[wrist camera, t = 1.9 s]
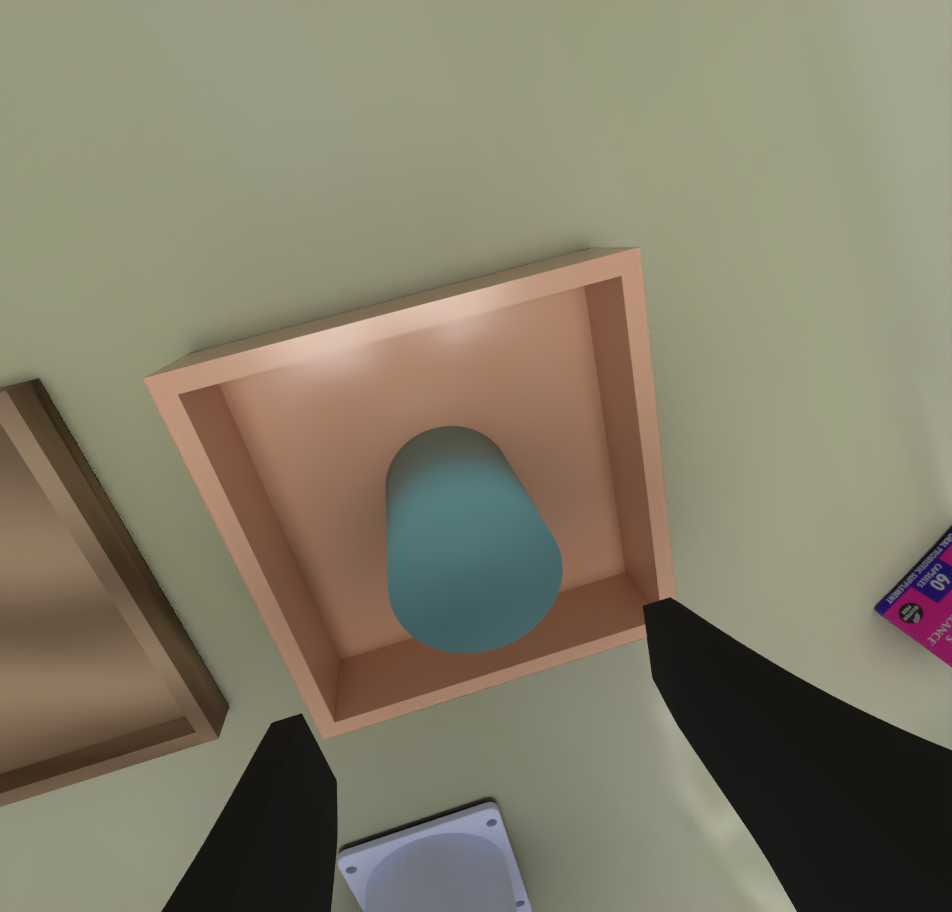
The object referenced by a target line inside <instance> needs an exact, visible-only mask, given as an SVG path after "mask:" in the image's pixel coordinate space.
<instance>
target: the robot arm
mask: <svg viewBox="0 0 952 912" xmlns="http://www.w3.org/2000/svg"><path fill="white" fill-rule="evenodd" d="M643 612H644V620H645V627H646V634H647V642H648V649H649V656H650V664H651V671H652V678H653V680H654V682H655V684H656V686H657V687H658V689H659V691H660V693H661V695H662V697H663V699H664V701H665V703H666V705H667V707H668V708H669V710H670V712H671V714H672V716H673V718H674V719H675V721H676V723H677V725H678V726H679V728H680V730H681V731H682V733H683V734H684V736H685V737H686V739H687V740H688V742H689V743H690V745H691V746H692V748H693V749H694V751H695V752H696V753H697V755H698V756H699V758H700V759H701V761H702V762H703V764H704V765H705V767H706V768H707V770H708V771H709V773H710V774H711V776H712V777H713V779H714V780H715V782H716V783H717V785H718V786H719V787H720V789H721V790H722V792H723V793H724V795H725V796H726V798H727V799H728V801H729V802H730V804H731V805H732V807H733V808H734V810H735V811H736V813H737V814H738V815H739V817H740V818H741V820H742V821H743V823H744V824H745V826H746V827H747V829H748V830H749V832H750V833H751V835H752V836H753V838H754V839H755V841H756V843H757V844H758V846H759V847H760V849H761V850H762V852H763V854H764V855H765V857H766V858H767V860H768V862H769V863H770V865H771V867H772V869H773V870H774V872H775V874H776V876H777V877H778V879H779V881H780V883H781V884H782V886H783V888H784V890H785V891H786V893H787V895H788V897H789V898H790V900H791V902H792V904H793V905H794V907H795V909H796V911H797V912H952V750H950V749H947V748H945V747H942V746H940V745H937V744H935V743H933V742H930V741H928V740H925V739H923V738H921V737H918V736H916V735H914V734H911V733H909V732H907V731H905V730H902V729H900V728H898V727H896V726H893V725H891V724H889V723H887V722H885V721H883V720H881V719H879V718H877V717H874V716H872V715H870V714H868V713H866V712H864V711H862V710H860V709H858V708H855V707H853V706H851V705H849V704H848V703H846V702H844V701H842V700H840V699H838V698H836V697H834V696H832V695H830V694H828V693H826V692H824V691H823V690H821V689H819V688H817V687H815V686H813V685H812V684H810V683H808V682H806V681H804V680H802V679H801V678H799V677H797V676H795V675H794V674H792V673H790V672H788V671H787V670H785V669H783V668H781V667H780V666H778V665H776V664H775V663H773V662H771V661H770V660H768V659H766V658H765V657H763V656H761V655H760V654H758V653H756V652H755V651H753V650H751V649H750V648H748V647H746V646H745V645H743V644H742V643H740V642H738V641H737V640H735V639H734V638H732V637H731V636H729V635H727V634H726V633H724V632H723V631H721V630H720V629H718V628H717V627H715V626H714V625H712V624H711V623H709V622H708V621H706V620H705V619H703V618H702V617H700V616H699V615H697V614H696V613H694V612H693V611H691V610H690V609H688V608H687V607H685V606H684V605H682V604H681V603H679V602H678V601H676V600H674V599H673V598H671V597H669V598H666V599H663V600H660V601H656V602H653V603H650V604H647V605H644V606H643ZM336 849H337V780H336V778H335V776H334V775H333V773H332V771H331V769H330V767H329V765H328V763H327V761H326V759H325V757H324V755H323V753H322V751H321V749H320V748H319V746H318V744H317V742H316V740H315V738H314V736H313V734H312V732H311V730H310V728H309V726H308V724H307V722H306V720H305V719H304V717H303V715H302V714H298V715H295V716H292V717H289V718H286V719H283V720H279V721H276V722H273V723H271V725H270V727H269V728H268V730H267V732H266V734H265V735H264V737H263V739H262V741H261V742H260V744H259V746H258V748H257V750H256V752H255V753H254V755H253V757H252V759H251V761H250V762H249V764H248V766H247V768H246V770H245V771H244V773H243V775H242V777H241V779H240V781H239V782H238V784H237V786H236V788H235V789H234V791H233V793H232V795H231V797H230V798H229V800H228V802H227V804H226V805H225V807H224V809H223V811H222V812H221V814H220V816H219V818H218V819H217V821H216V823H215V825H214V826H213V828H212V830H211V831H210V833H209V835H208V837H207V838H206V840H205V842H204V844H203V845H202V847H201V849H200V850H199V852H198V854H197V855H196V857H195V859H194V860H193V862H192V863H191V865H190V867H189V868H188V870H187V871H186V873H185V875H184V876H183V878H182V879H181V881H180V883H179V884H178V886H177V887H176V889H175V891H174V892H173V894H172V896H171V897H170V899H169V900H168V902H167V904H166V905H165V907H164V908H163V910H162V911H161V912H331V903H332V893H333V883H334V872H335V861H336ZM337 865H338V868H339V869H340V871H341V873H342V875H343V876H344V878H345V880H346V882H347V884H348V885H349V887H350V889H351V891H352V893H353V894H354V896H355V898H356V900H357V901H358V903H359V905H360V907H361V909H362V910H363V912H532V908H531V904H530V901H529V898H528V895H527V892H526V889H525V886H524V883H523V880H522V877H521V874H520V871H519V868H518V865H517V862H516V859H515V856H514V853H513V850H512V847H511V844H510V841H509V838H508V835H507V832H506V829H505V826H504V823H503V820H502V817H501V814H500V811H499V808H498V806H497V804H495V803H493V802H486V803H483V804H480V805H477V806H474V807H471V808H468V809H465V810H462V811H459V812H456V813H453V814H450V815H447V816H444V817H441V818H438V819H435V820H432V821H429V822H426V823H423V824H420V825H417V826H414V827H411V828H408V829H405V830H402V831H399V832H396V833H393V834H390V835H387V836H384V837H381V838H378V839H375V840H372V841H369V842H366V843H363V844H360V845H357V846H354V847H351V848H348V849H345V850H343V851H342V852H341V853H339V855H338V860H337Z"/></svg>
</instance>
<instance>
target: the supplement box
mask: <svg viewBox="0 0 952 912" xmlns="http://www.w3.org/2000/svg"><path fill="white" fill-rule="evenodd" d="M876 611H877V612H878V613H879V614H880V615H881V616H883V617H884V618H886V619H887V620H888V621H890V622H891V623H892V624H894V625H895V626H896V627H898V628H899V629H900V630H902V631H903V632H905V633H906V634H907V635H909V636H910V637H911V638H913V639H914V640H916V641H917V642H918V643H920V644H921V645H922V646H924V647H925V648H926V649H928V650H929V651H930V652H932V653H933V654H935V655H936V656H937V657H939V658H940V659H941V660H943V661H944V662H945V663H947V664H948V665H949V666H951V667H952V530H951V531H950V532H949V534H948V535H947V536H946V537H945V539H944V540H943V541H942V542H941V543H940V544H939V545H938V546H937V547H936V548H935V549H934V550H933V551H932V552H931V553H930V554H929V555H928V556H927V557H926V558H925V559H924V560H923V561H922V562H921V563H920V565H919V566H918V567H917V568H916V569H915V570H914V571H913V572H912V573H911V574H910V575H909V576H908V577H907V578H906V579H905V580H904V581H903V582H902V583H901V584H900V585H899V586H898V587H897V588H896V589H895V590H894V591H893V592H892V593H890V594H889V595H888V596H887V597H886V598H885V599H884V600H883V601H882V602H881V603H880V604H879V605H878V606H877V607H876Z"/></svg>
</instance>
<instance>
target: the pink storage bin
mask: <svg viewBox="0 0 952 912" xmlns="http://www.w3.org/2000/svg"><path fill="white" fill-rule="evenodd" d="M143 379H144V381H145V383H146V385H147V387H148V389H149V391H150V393H151V395H152V397H153V399H154V401H155V403H156V405H157V407H158V409H159V411H160V413H161V415H162V417H163V419H164V421H165V423H166V425H167V427H168V429H169V431H170V433H171V435H172V438H173V440H174V442H175V444H176V446H177V448H178V450H179V452H180V454H181V456H182V458H183V460H184V462H185V464H186V466H187V468H188V470H189V472H190V474H191V476H192V478H193V480H194V482H195V484H196V486H197V488H198V490H199V492H200V494H201V496H202V498H203V500H204V502H205V504H206V506H207V508H208V510H209V512H210V514H211V516H212V518H213V520H214V522H215V524H216V526H217V528H218V530H219V532H220V534H221V536H222V538H223V540H224V542H225V544H226V546H227V548H228V550H229V552H230V554H231V556H232V558H233V560H234V562H235V564H236V566H237V568H238V570H239V572H240V574H241V576H242V578H243V580H244V582H245V584H246V586H247V588H248V590H249V592H250V594H251V596H252V598H253V600H254V602H255V604H256V606H257V608H258V610H259V612H260V614H261V616H262V618H263V620H264V622H265V624H266V626H267V628H268V630H269V632H270V634H271V636H272V638H273V640H274V642H275V644H276V646H277V648H278V650H279V652H280V654H281V656H282V658H283V660H284V662H285V664H286V666H287V668H288V670H289V672H290V674H291V676H292V678H293V680H294V682H295V684H296V686H297V688H298V690H299V692H300V694H301V696H302V698H303V700H304V702H305V704H306V706H307V708H308V710H309V712H310V714H311V716H312V718H313V720H314V722H315V724H316V726H317V728H318V730H319V732H320V734H321V736H322V738H323V740H325V739H328V738H332V737H335V736H338V735H341V734H344V733H347V732H350V731H354V730H357V729H360V728H363V727H366V726H369V725H372V724H376V723H379V722H382V721H385V720H388V719H391V718H394V717H398V716H401V715H404V714H407V713H410V712H413V711H416V710H420V709H423V708H426V707H429V706H432V705H435V704H438V703H442V702H445V701H448V700H451V699H454V698H457V697H460V696H464V695H467V694H470V693H473V692H476V691H479V690H482V689H486V688H489V687H492V686H495V685H498V684H501V683H504V682H508V681H511V680H514V679H517V678H520V677H523V676H526V675H530V674H533V673H536V672H539V671H542V670H545V669H548V668H552V667H555V666H558V665H561V664H564V663H567V662H570V661H573V660H577V659H580V658H583V657H586V656H589V655H592V654H595V653H599V652H602V651H605V650H608V649H611V648H614V647H617V646H621V645H624V644H627V643H630V642H633V641H636V640H639V639H643V638H646V637H647V634H646V627H645V620H644V612H643V606H644V605H647V604H650V603H653V602H656V601H660V600H663V599H666V598H669V597H671V598H673V599H674V600H676V594H675V585H674V575H673V565H672V555H671V546H670V536H669V526H668V516H667V506H666V497H665V487H664V477H663V467H662V458H661V448H660V438H659V428H658V419H657V409H656V399H655V389H654V379H653V370H652V360H651V350H650V340H649V331H648V321H647V311H646V301H645V291H644V282H643V272H642V262H641V252H640V247H603V248H588V249H584V250H581V251H577V252H573V253H569V254H565V255H562V256H558V257H554V258H550V259H546V260H543V261H539V262H535V263H531V264H527V265H524V266H520V267H516V268H512V269H508V270H505V271H501V272H497V273H493V274H489V275H485V276H482V277H478V278H474V279H470V280H466V281H463V282H459V283H455V284H451V285H447V286H444V287H440V288H436V289H432V290H428V291H425V292H421V293H417V294H413V295H409V296H406V297H402V298H398V299H394V300H390V301H387V302H383V303H379V304H375V305H371V306H367V307H364V308H360V309H356V310H352V311H348V312H345V313H341V314H337V315H333V316H329V317H326V318H322V319H318V320H314V321H310V322H307V323H303V324H299V325H295V326H291V327H288V328H284V329H280V330H276V331H272V332H268V333H265V334H261V335H257V336H253V337H249V338H246V339H242V340H238V341H234V342H230V343H227V344H223V345H219V346H215V347H211V348H208V349H204V350H200V351H196V352H192V353H189V354H187V355H185V356H183V357H182V358H180V359H178V360H176V361H174V362H172V363H170V364H169V365H167V366H165V367H163V368H161V369H159V370H158V371H156V372H154V373H152V374H150V375H148V376H146V377H145V378H143ZM443 426H460V427H466V428H469V429H473V430H475V431H478V432H480V433H482V434H483V435H485V436H487V437H488V438H489V439H491V440H492V441H493V442H494V443H495V444H496V445H497V446H498V447H499V448H500V450H501V451H502V453H503V454H504V456H505V458H506V459H507V461H508V463H509V464H510V466H511V468H512V469H513V471H514V472H515V474H516V476H517V477H518V479H519V481H520V482H521V484H522V486H523V487H524V489H525V491H526V492H527V494H528V495H529V497H530V499H531V500H532V502H533V504H534V505H535V507H536V509H537V510H538V512H539V514H540V515H541V517H542V519H543V520H544V522H545V523H546V525H547V527H548V528H549V530H550V532H551V533H552V535H553V537H554V538H555V540H556V542H557V545H558V547H559V550H560V553H561V557H562V564H563V576H562V582H561V587H560V590H559V593H558V596H557V598H556V600H555V602H554V604H553V606H552V607H551V609H550V610H549V612H548V613H547V615H546V616H545V617H544V618H543V619H542V621H541V622H540V623H539V624H538V625H537V626H536V627H534V628H533V629H532V630H531V631H530V632H528V633H527V634H526V635H524V636H523V637H521V638H519V639H518V640H516V641H514V642H512V643H510V644H508V645H506V646H503V647H500V648H497V649H494V650H490V651H486V652H480V653H468V654H462V653H451V652H445V651H441V650H438V649H435V648H432V647H430V646H427V645H425V644H423V643H422V642H420V641H418V640H417V639H415V638H414V637H413V636H412V635H410V634H409V633H408V632H407V631H406V630H405V629H404V628H403V627H402V626H401V624H400V623H399V621H398V620H397V618H396V616H395V614H394V612H393V610H392V607H391V604H390V600H389V594H388V569H387V529H386V477H387V472H388V469H389V466H390V464H391V462H392V460H393V458H394V457H395V455H396V454H397V452H398V451H399V450H400V449H401V448H402V447H403V445H405V444H406V443H407V442H408V441H409V440H410V439H412V438H413V437H415V436H416V435H418V434H420V433H422V432H424V431H427V430H430V429H433V428H438V427H443Z"/></svg>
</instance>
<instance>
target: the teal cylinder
mask: <svg viewBox="0 0 952 912" xmlns="http://www.w3.org/2000/svg"><path fill="white" fill-rule="evenodd" d="M386 529H387V569H388V594H389V600H390V604H391V607H392V610H393V612H394V614H395V616H396V618H397V620H398V621H399V623H400V624H401V626H402V627H403V628H404V629H405V630H406V631H407V632H408V633H409V634H410V635H412V636H413V637H414V638H415V639H417V640H418V641H420V642H422V643H423V644H425V645H427V646H430V647H432V648H435V649H438V650H441V651H445V652H451V653H462V654H468V653H480V652H486V651H490V650H494V649H497V648H500V647H503V646H506V645H508V644H510V643H512V642H514V641H516V640H518V639H519V638H521V637H523V636H524V635H526V634H527V633H528V632H530V631H531V630H532V629H533V628H534V627H536V626H537V625H538V624H539V623H540V622H541V621H542V619H543V618H544V617H545V616H546V615H547V613H548V612H549V610H550V609H551V607H552V606H553V604H554V602H555V600H556V598H557V596H558V593H559V590H560V587H561V582H562V576H563V564H562V557H561V553H560V550H559V547H558V545H557V542H556V540H555V538H554V537H553V535H552V533H551V532H550V530H549V528H548V527H547V525H546V523H545V522H544V520H543V519H542V517H541V515H540V514H539V512H538V510H537V509H536V507H535V505H534V504H533V502H532V500H531V499H530V497H529V495H528V494H527V492H526V491H525V489H524V487H523V486H522V484H521V482H520V481H519V479H518V477H517V476H516V474H515V472H514V471H513V469H512V468H511V466H510V464H509V463H508V461H507V459H506V458H505V456H504V454H503V453H502V451H501V450H500V448H499V447H498V446H497V445H496V444H495V443H494V442H493V441H492V440H491V439H489V438H488V437H487V436H485V435H483V434H482V433H480V432H478V431H475V430H473V429H469V428H466V427H460V426H443V427H438V428H433V429H430V430H427V431H424V432H422V433H420V434H418V435H416V436H415V437H413V438H412V439H410V440H409V441H408V442H407V443H406V444H405V445H403V447H402V448H401V449H400V450H399V451H398V452H397V454H396V455H395V457H394V458H393V460H392V462H391V464H390V466H389V469H388V472H387V477H386Z"/></svg>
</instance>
